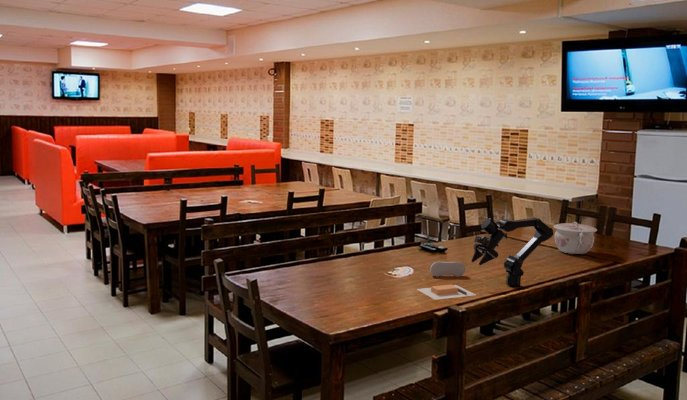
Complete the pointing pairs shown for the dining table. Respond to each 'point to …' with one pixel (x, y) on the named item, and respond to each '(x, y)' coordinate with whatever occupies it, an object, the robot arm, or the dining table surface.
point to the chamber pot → (574, 237)
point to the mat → (444, 296)
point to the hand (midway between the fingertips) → (475, 263)
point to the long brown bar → (462, 291)
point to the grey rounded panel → (447, 269)
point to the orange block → (444, 289)
